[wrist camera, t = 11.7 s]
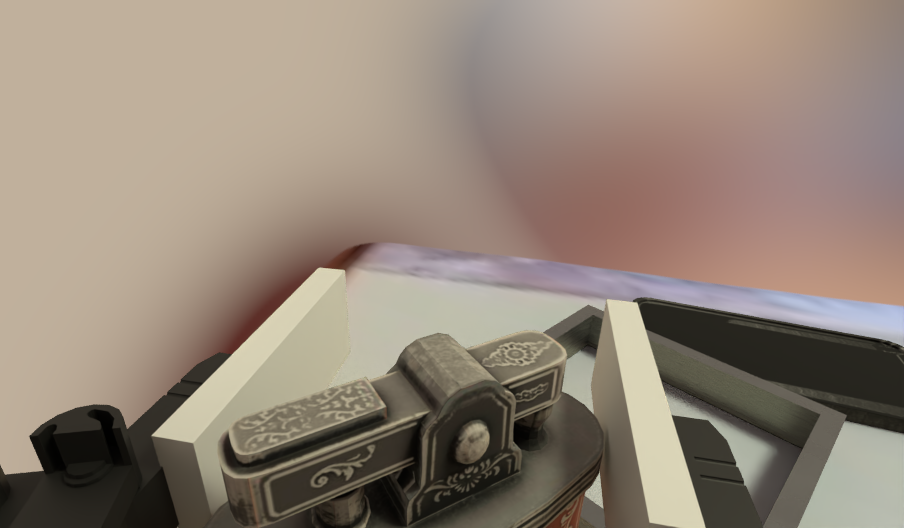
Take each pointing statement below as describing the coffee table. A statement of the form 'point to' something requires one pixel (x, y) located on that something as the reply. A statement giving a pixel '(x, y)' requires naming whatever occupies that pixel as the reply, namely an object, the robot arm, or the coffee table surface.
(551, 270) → the coffee table surface
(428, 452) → the lighter
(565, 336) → the holder frame
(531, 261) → the coffee table surface
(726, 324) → the phone
